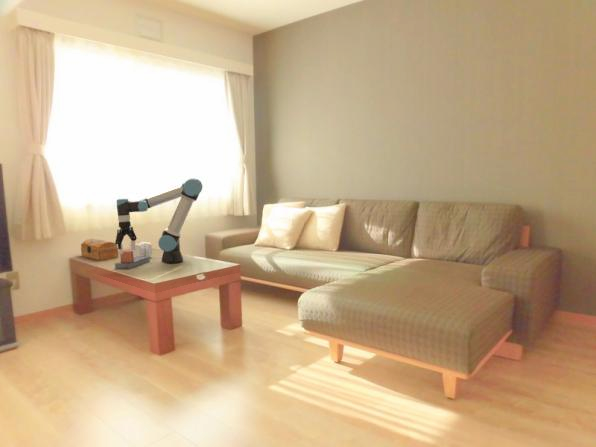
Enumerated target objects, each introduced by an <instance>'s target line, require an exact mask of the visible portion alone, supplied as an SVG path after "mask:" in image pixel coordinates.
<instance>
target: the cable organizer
mask: <svg viewBox="0 0 596 447" xmlns="http://www.w3.org/2000/svg"><path fill="white" fill-rule="evenodd" d="M129 245H130V246H129V247H130V250H129V251H133V256H134V257H136V256H138V257H150V258H151V257H153V251H152V250H153V248H152V243H151V242H147V241H140V242H139V243H136V242H135V250H131V243H129Z"/></svg>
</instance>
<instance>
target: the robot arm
mask: <svg viewBox="0 0 596 447" xmlns="http://www.w3.org/2000/svg"><path fill="white" fill-rule="evenodd" d="M202 190H203V183H202V182H201V180H199V179H198V178H188V179H187V180H185V181H184V183H181V185H178V186H176V187H174V188H171V189H168V190H165V191H163V192H159V193H156V194H154V195H151V196H147V197H145V198H143V199H139V200H133V201H132V200H131V201H130V200H129V199H128V198H118V199H116V210H117V212H116V213H117V221H118V228H119V229H117V230H116V237H115V241H114V243H115V244H117V247H118V255H120V254H123V251H124V249H123V240H124V238H125V236H128V237H129V239H130V244H131V250H135V243H136V241H137V239H138V238H137V235H136V233H135V230H134V228H133V226H132V225H131V224H132V223H131V214H130V213H139V212H140V213H142V212H147V211H148V209H151V208H153V207H157V206H159V205H162V204H165V203H168V202H171V201H173V200H176V199H179V198H180V199H179V202H178V204H177V206H176V208H175V211H174V214H173V215H172V217H171V220H170V222H169V223H168V224H169V225H168V227H166V228H165V229H164V230H163V231H162V233H161V236H160V237H159V239H158V247H159V249H160V250H162V251H163V252H162V257H161V262H162V263H164V264H177V263H182V262H183V261H184V257H183V255H182V252H181V245H180V238H181V230H182V228H183V225H184V223H185V221H186V219H187V216H188V215H189V213H190V210H191V208H192V205H193V204H194V203H195V202H196V201H197V199H198V198H199V195H200V193H201V192H202ZM131 250H130V251H131Z"/></svg>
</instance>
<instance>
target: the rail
mask: <svg viewBox="0 0 596 447" xmlns="http://www.w3.org/2000/svg"><path fill="white" fill-rule="evenodd" d="M150 259H151V257H146V256H145V257H144V256H142V257H138V256H136V257H134V262H132V263H129V262H121V261H119V262H115V263H114V268H115V269H119V270H121V269H123V270H130V269H133V268H135V267H138V266H141V265H145V264H147V263H149V262H150V261H151V260H150Z"/></svg>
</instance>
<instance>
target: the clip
mask: <svg viewBox="0 0 596 447" xmlns="http://www.w3.org/2000/svg"><path fill="white" fill-rule="evenodd" d="M119 256H120V262H129V263H132V262H134V256H133V251H131V250H123V254H119Z"/></svg>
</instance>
